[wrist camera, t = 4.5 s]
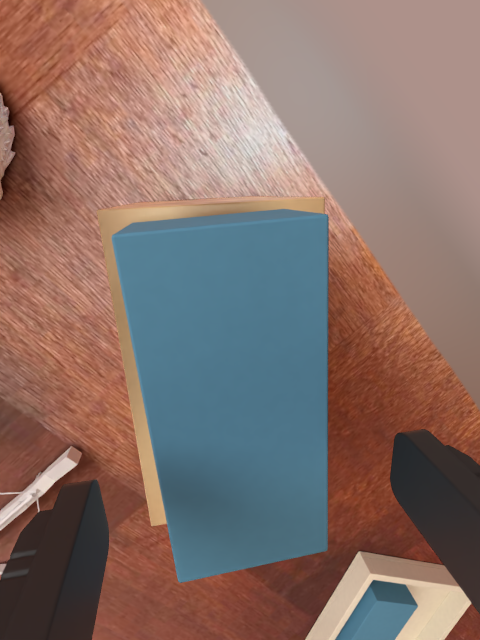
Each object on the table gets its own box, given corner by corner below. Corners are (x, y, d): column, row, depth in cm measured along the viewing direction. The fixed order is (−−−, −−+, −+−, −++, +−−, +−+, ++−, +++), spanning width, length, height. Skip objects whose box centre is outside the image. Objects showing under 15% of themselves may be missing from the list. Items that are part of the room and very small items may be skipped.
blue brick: (402, 578, 42) (418, 606, 39) (356, 648, 45) (368, 678, 42) (363, 572, 41) (377, 600, 38) (317, 645, 44) (327, 676, 41)
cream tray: (464, 568, 44) (481, 590, 42) (399, 659, 48) (411, 684, 46) (358, 550, 40) (370, 573, 38) (297, 651, 44) (304, 678, 42)
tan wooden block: (251, 196, 26) (325, 197, 13) (257, 369, 31) (317, 497, 18) (137, 202, 25) (96, 210, 12) (162, 381, 30) (151, 527, 17)
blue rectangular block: (286, 208, 13) (330, 213, 9) (295, 473, 17) (328, 551, 13) (130, 222, 12) (109, 234, 9) (178, 496, 16) (178, 584, 13)
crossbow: (16, 582, 35) (6, 605, 33) (-113, 517, 31) (-134, 540, 29) (134, 487, 32) (130, 507, 30) (11, 402, 28) (-2, 419, 26)
